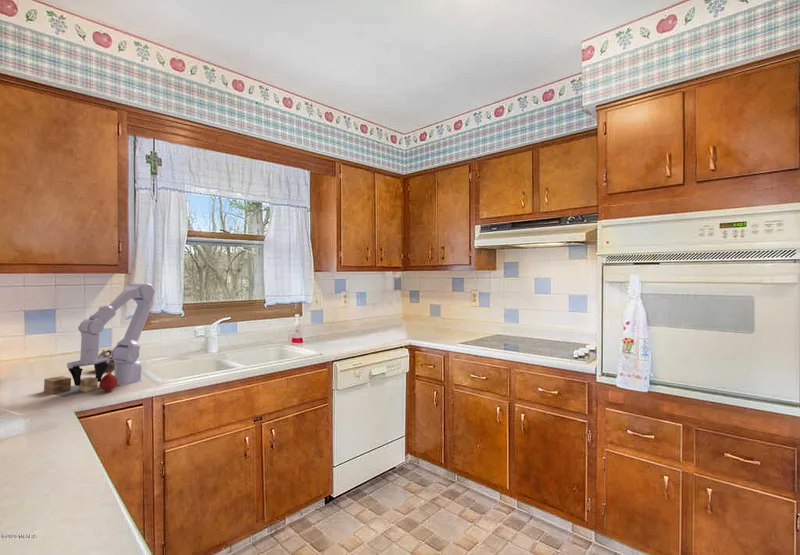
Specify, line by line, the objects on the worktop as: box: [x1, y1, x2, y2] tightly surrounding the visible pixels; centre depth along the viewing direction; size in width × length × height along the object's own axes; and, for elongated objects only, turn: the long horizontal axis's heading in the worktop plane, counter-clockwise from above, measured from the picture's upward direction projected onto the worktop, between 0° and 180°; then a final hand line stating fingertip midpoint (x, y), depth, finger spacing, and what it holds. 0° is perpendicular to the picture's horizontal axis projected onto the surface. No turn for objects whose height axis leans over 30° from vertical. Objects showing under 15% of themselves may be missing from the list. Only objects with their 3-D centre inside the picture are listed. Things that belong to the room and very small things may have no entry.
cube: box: [78, 376, 99, 393], centre depth 166 cm, size 4×4×4 cm
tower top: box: [43, 375, 72, 388], centre depth 162 cm, size 6×6×2 cm
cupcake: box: [93, 349, 115, 373], centre depth 200 cm, size 10×10×10 cm
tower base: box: [43, 383, 72, 395], centre depth 162 cm, size 6×6×2 cm
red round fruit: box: [99, 372, 118, 393], centre depth 166 cm, size 6×6×8 cm
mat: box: [42, 384, 102, 398], centre depth 165 cm, size 14×14×1 cm
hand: (87, 383), depth 166 cm, fingers open, 7 cm apart
